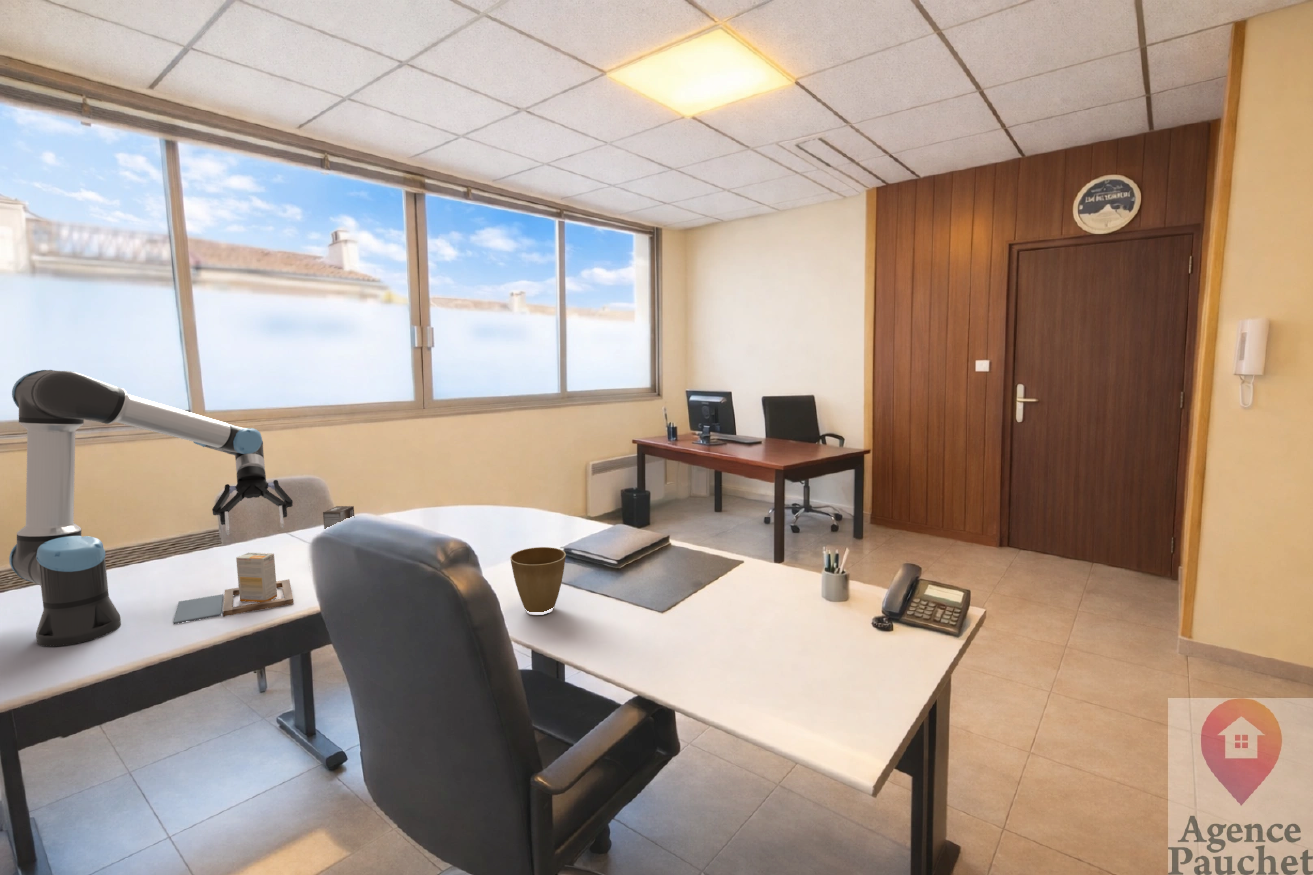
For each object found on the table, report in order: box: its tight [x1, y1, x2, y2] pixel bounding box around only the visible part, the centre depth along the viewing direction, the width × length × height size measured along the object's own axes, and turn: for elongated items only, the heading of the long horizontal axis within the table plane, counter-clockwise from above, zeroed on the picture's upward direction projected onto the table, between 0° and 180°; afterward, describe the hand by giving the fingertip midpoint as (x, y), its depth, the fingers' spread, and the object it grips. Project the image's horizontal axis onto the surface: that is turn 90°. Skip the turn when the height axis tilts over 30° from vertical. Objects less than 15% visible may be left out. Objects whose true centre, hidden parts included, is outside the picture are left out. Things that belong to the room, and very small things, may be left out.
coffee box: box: [322, 505, 355, 530], centre depth 212 cm, size 9×6×16 cm
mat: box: [172, 593, 224, 625], centre depth 163 cm, size 10×16×1 cm, turn 34°
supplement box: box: [235, 552, 278, 603], centre depth 170 cm, size 8×5×13 cm, turn 84°
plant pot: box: [509, 546, 567, 612], centre depth 165 cm, size 15×15×16 cm
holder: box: [222, 578, 294, 617], centre depth 171 cm, size 16×18×2 cm
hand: (255, 529), depth 178 cm, fingers open, 13 cm apart
